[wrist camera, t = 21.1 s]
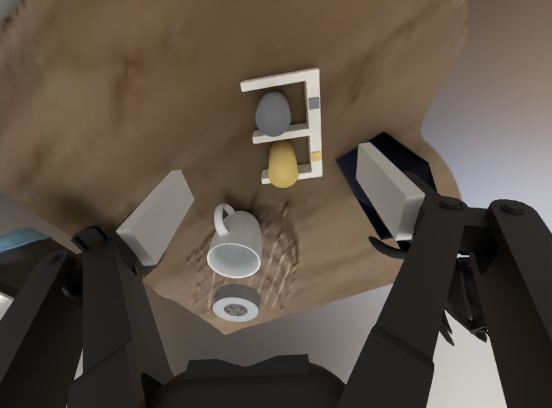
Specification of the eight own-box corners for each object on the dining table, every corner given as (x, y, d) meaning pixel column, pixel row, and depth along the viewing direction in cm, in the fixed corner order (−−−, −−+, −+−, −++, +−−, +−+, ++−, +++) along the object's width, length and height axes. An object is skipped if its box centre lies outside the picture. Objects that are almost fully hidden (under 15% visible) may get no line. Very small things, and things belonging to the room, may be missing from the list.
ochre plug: (272, 164, 44) (270, 189, 36) (267, 141, 41) (265, 162, 33) (295, 161, 44) (299, 185, 36) (293, 137, 41) (296, 158, 33)
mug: (203, 198, 49) (183, 238, 39) (245, 184, 47) (236, 222, 36) (233, 240, 57) (223, 282, 47) (270, 230, 55) (269, 272, 44)
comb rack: (263, 174, 46) (262, 185, 42) (243, 80, 35) (239, 83, 31) (319, 167, 44) (322, 177, 41) (315, 67, 34) (319, 69, 30)
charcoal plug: (263, 121, 39) (259, 139, 31) (257, 92, 36) (251, 102, 28) (289, 117, 39) (292, 133, 30) (286, 86, 36) (288, 96, 28)
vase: (322, 151, 42) (415, 349, 14) (378, 117, 39) (665, 294, 10) (351, 199, 49) (452, 398, 21) (401, 174, 45) (611, 376, 17)
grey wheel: (207, 293, 73) (202, 307, 69) (240, 278, 68) (238, 292, 63) (235, 311, 80) (233, 325, 76) (268, 299, 75) (267, 314, 71)
